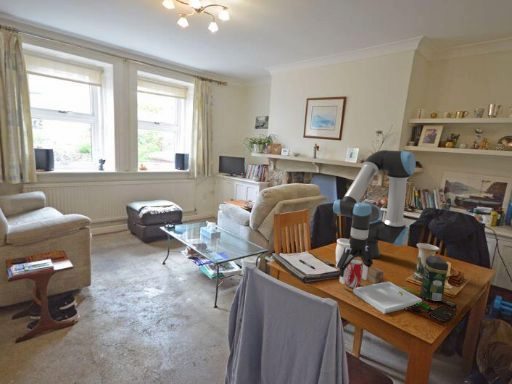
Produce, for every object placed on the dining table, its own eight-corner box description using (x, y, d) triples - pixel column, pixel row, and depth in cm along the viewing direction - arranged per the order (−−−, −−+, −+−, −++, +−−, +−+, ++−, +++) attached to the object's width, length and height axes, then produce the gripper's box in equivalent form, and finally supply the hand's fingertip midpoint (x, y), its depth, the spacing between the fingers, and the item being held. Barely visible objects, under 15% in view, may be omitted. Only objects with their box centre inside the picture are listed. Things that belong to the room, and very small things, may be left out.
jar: (355, 273, 147) (358, 245, 145) (334, 270, 149) (337, 243, 147) (352, 265, 157) (355, 239, 155) (333, 262, 159) (336, 237, 157)
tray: (387, 285, 136) (388, 281, 136) (421, 304, 121) (422, 299, 121) (352, 292, 127) (353, 288, 126) (384, 314, 112) (385, 308, 111)
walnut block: (373, 278, 143) (375, 267, 142) (381, 283, 139) (383, 271, 138) (366, 279, 141) (368, 268, 140) (374, 284, 137) (376, 272, 136)
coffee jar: (418, 290, 133) (424, 252, 130) (437, 294, 131) (444, 255, 128) (423, 300, 124) (430, 260, 121) (444, 304, 122) (452, 263, 119)
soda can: (358, 290, 129) (361, 265, 127) (342, 286, 133) (345, 261, 131) (361, 285, 135) (365, 261, 133) (346, 280, 139) (349, 257, 137)
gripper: (372, 232, 139) (366, 273, 142) (331, 236, 128) (326, 280, 131) (384, 237, 132) (378, 280, 135) (343, 241, 121) (337, 288, 125)
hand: (353, 280), depth 133 cm, fingers open, 13 cm apart
